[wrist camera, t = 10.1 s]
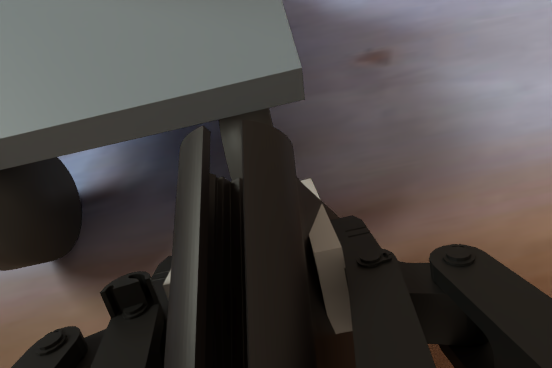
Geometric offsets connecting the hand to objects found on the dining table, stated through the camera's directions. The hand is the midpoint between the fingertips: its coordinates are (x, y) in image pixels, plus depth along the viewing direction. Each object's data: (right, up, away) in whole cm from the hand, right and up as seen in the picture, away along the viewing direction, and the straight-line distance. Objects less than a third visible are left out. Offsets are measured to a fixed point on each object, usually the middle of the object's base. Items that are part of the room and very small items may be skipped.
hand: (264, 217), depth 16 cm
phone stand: (+1, -5, +2) cm, 6 cm away
